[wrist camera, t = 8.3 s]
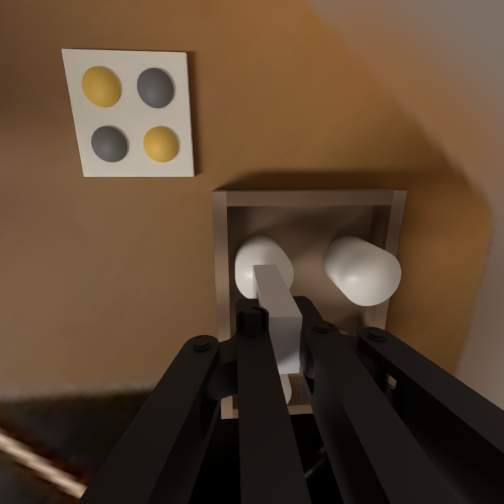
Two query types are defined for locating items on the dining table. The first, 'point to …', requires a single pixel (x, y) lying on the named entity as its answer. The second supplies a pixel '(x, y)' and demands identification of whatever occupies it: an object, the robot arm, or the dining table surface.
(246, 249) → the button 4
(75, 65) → the pattern card
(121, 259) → the dining table surface
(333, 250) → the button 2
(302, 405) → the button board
